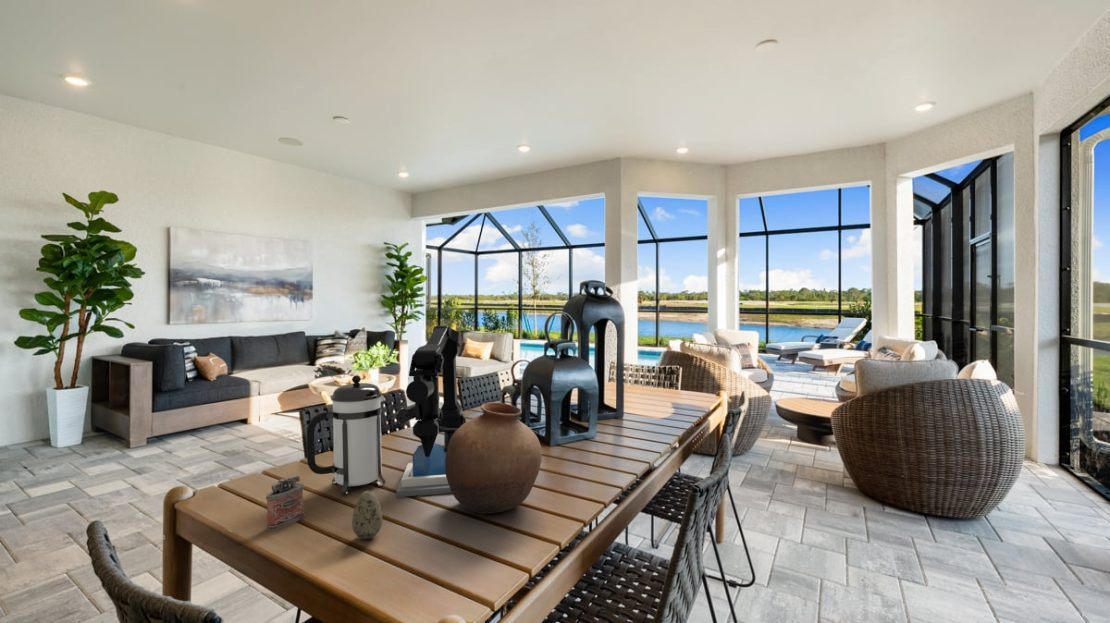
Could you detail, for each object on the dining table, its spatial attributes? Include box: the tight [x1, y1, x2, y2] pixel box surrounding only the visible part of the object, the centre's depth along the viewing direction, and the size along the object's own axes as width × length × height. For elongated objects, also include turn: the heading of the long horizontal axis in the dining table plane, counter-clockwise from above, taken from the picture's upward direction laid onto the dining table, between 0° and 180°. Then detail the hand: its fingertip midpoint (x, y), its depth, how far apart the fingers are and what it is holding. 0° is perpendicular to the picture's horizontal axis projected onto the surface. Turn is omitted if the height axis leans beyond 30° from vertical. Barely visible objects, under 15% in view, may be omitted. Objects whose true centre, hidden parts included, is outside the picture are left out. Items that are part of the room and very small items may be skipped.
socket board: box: [395, 462, 452, 498], centre depth 133 cm, size 18×15×4 cm
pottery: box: [445, 401, 543, 514], centre depth 116 cm, size 23×23×25 cm
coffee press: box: [305, 374, 386, 495], centre depth 131 cm, size 17×16×30 cm
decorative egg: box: [351, 490, 383, 540], centre depth 102 cm, size 6×6×10 cm
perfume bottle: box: [412, 442, 446, 477], centre depth 133 cm, size 6×6×12 cm
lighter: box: [265, 474, 305, 531], centre depth 109 cm, size 8×3×10 cm, turn 148°
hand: (429, 451), depth 133 cm, fingers open, 9 cm apart
